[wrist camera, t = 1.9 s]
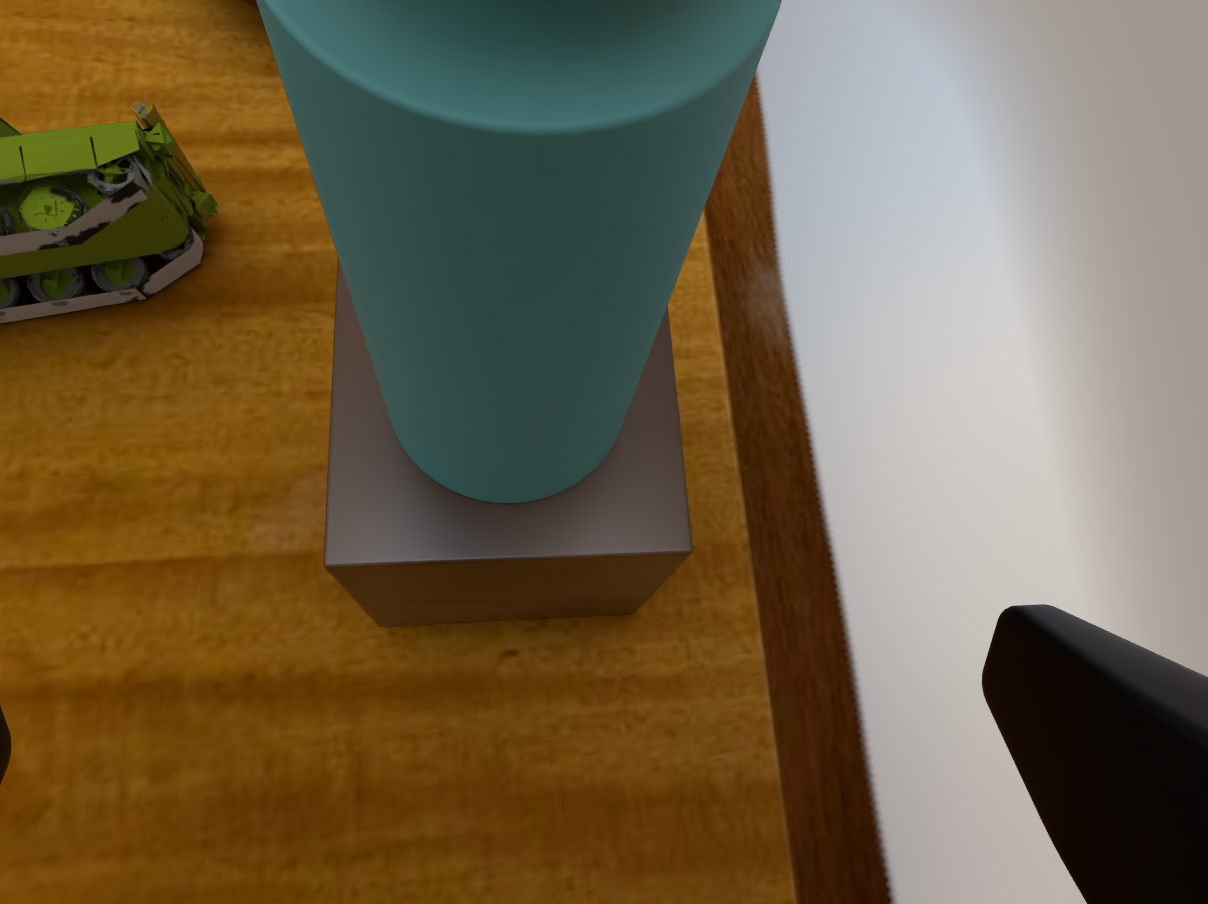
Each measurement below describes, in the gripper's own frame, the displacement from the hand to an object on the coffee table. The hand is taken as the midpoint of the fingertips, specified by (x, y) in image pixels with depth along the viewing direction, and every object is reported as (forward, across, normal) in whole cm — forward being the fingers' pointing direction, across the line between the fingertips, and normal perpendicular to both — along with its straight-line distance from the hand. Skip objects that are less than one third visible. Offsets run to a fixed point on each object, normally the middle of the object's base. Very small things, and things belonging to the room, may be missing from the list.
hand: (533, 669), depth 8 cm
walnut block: (+14, 0, +6) cm, 15 cm away
